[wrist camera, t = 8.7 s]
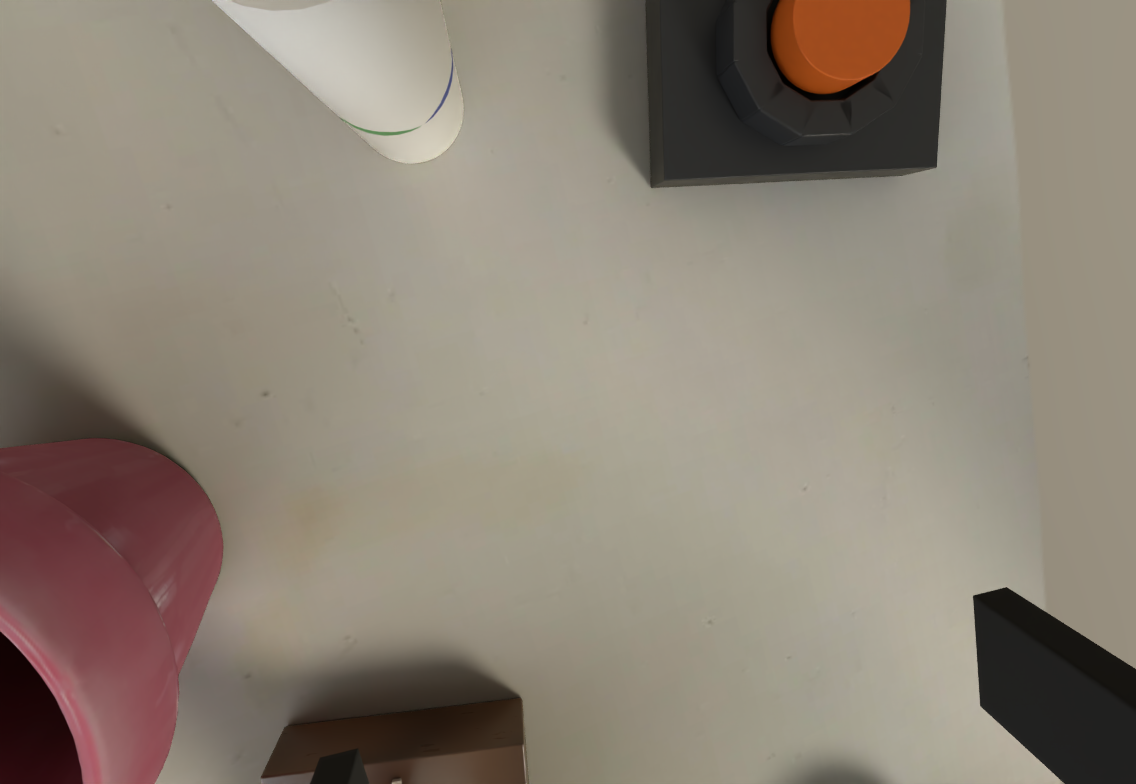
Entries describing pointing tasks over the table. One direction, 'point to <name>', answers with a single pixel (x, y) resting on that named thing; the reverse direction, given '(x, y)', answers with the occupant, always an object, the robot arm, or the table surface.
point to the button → (836, 40)
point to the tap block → (413, 746)
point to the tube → (368, 66)
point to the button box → (781, 101)
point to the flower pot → (97, 607)
